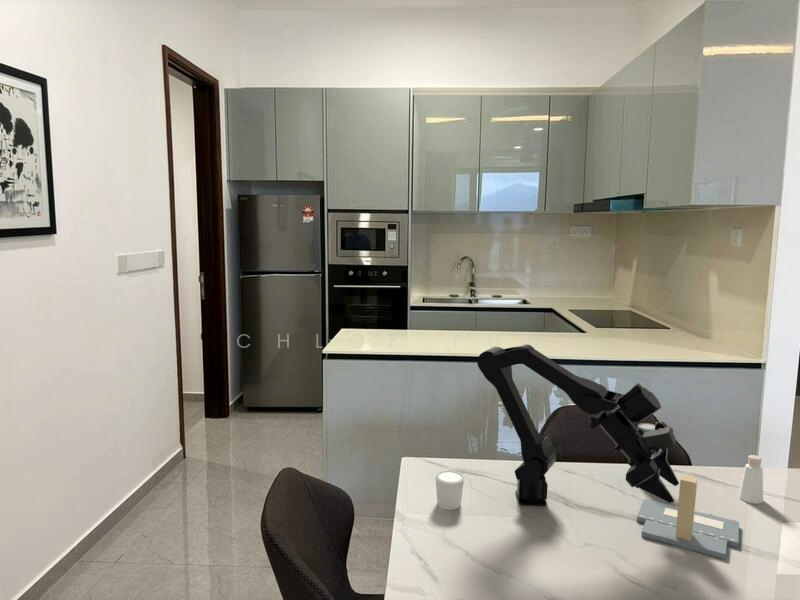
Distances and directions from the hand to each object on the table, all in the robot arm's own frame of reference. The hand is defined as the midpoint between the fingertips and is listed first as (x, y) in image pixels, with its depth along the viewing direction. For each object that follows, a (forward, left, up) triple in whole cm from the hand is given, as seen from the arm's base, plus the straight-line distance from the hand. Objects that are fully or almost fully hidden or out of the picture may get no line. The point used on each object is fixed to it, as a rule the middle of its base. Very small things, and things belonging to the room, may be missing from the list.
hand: (674, 493), depth 123 cm
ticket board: (+6, +6, -10) cm, 13 cm away
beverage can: (+4, +28, -10) cm, 30 cm away
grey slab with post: (+2, -1, -10) cm, 11 cm away
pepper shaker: (+27, +20, -10) cm, 35 cm away
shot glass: (-48, +11, -10) cm, 50 cm away
